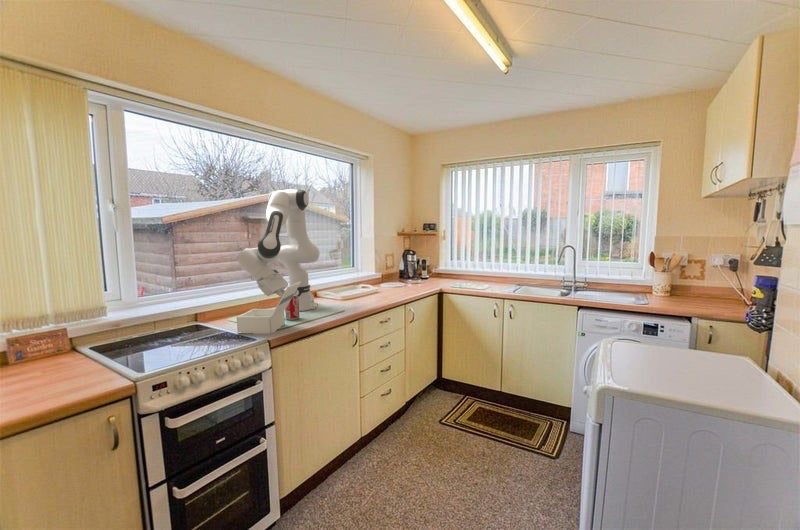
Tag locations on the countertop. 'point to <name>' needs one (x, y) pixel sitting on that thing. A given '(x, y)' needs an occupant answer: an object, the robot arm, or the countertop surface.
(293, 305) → the soda can
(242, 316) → the box
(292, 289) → the mailer lid
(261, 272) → the robot arm
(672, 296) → the countertop surface
